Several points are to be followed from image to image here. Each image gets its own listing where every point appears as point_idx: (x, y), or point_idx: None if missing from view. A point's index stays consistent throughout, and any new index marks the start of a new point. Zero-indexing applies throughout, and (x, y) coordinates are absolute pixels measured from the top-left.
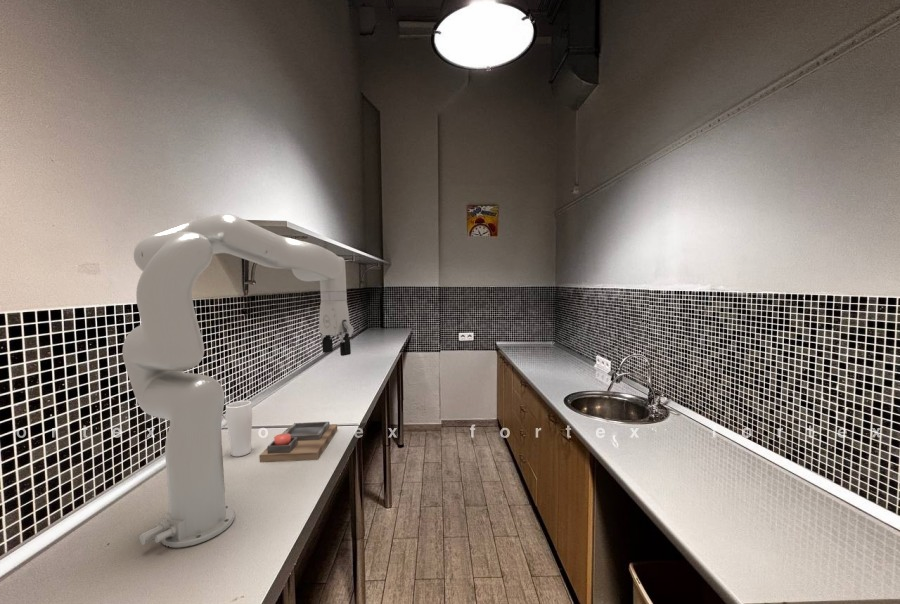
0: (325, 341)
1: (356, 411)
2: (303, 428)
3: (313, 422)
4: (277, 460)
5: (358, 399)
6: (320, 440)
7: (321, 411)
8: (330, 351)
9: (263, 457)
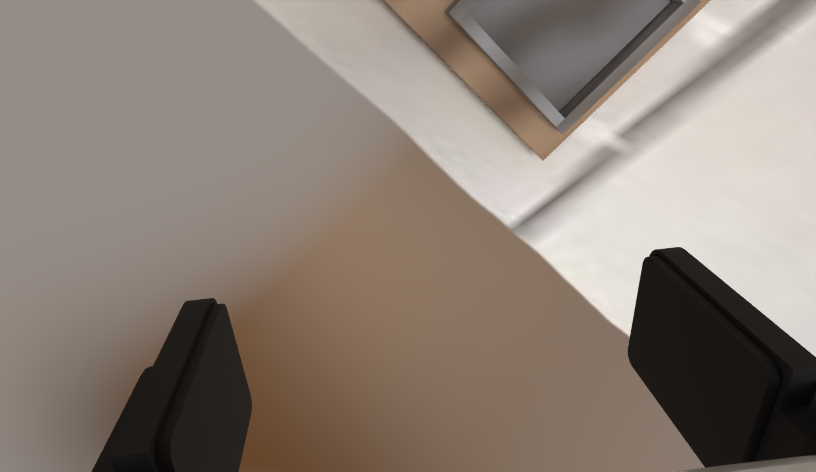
0: (748, 384)
1: None
2: (631, 23)
3: (619, 75)
4: None
5: None
6: (431, 12)
7: (782, 207)
8: (631, 331)
9: None
